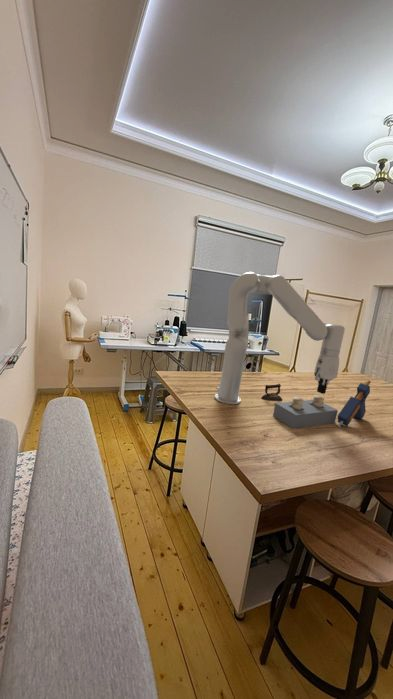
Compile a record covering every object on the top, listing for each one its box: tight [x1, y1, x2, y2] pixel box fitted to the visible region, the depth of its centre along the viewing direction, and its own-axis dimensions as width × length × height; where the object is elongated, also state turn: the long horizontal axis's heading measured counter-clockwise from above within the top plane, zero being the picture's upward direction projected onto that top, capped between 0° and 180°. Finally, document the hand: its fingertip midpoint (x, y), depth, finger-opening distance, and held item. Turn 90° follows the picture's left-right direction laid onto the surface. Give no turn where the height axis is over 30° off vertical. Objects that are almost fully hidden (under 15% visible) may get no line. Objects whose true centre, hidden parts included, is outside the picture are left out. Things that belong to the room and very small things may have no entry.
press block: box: [272, 399, 339, 430], centre depth 127 cm, size 12×26×6 cm, turn 118°
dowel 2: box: [312, 394, 325, 408], centre depth 129 cm, size 4×4×5 cm
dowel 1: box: [291, 396, 305, 411], centre depth 123 cm, size 4×4×5 cm
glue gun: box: [337, 380, 372, 428], centre depth 133 cm, size 6×31×15 cm
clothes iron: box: [261, 383, 283, 402], centre depth 148 cm, size 7×11×10 cm, turn 117°
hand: (321, 392), depth 128 cm, fingers closed
